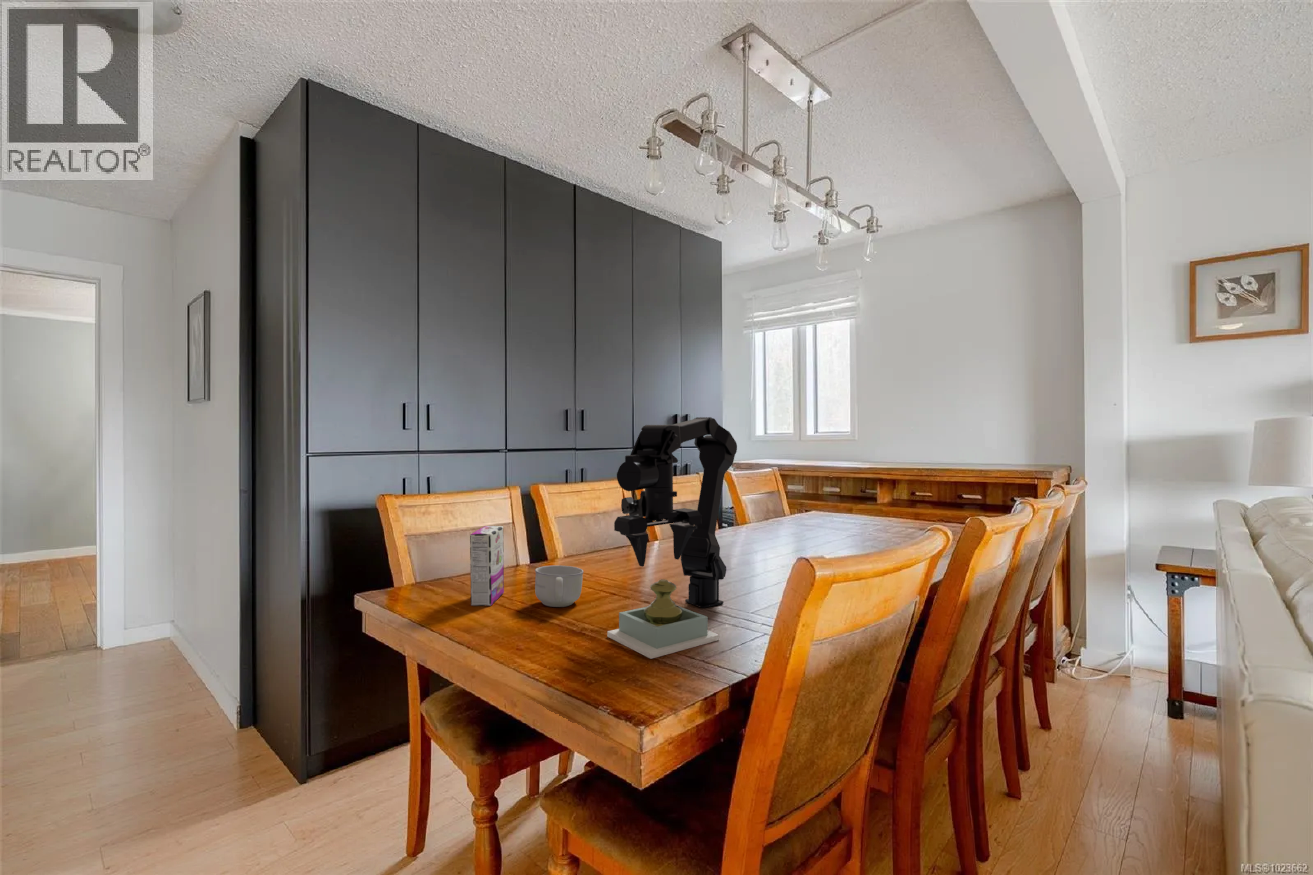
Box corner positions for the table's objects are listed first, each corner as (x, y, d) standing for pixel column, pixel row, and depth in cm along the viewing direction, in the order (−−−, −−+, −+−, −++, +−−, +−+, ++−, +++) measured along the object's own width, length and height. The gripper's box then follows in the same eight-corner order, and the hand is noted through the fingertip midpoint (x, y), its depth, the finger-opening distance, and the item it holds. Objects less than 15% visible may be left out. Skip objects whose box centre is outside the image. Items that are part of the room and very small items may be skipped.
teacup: (540, 597, 142) (541, 563, 142) (586, 597, 142) (586, 563, 142) (526, 614, 128) (526, 577, 128) (576, 615, 128) (576, 578, 128)
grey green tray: (672, 621, 124) (672, 599, 124) (718, 640, 113) (719, 616, 113) (607, 636, 115) (607, 613, 115) (650, 658, 104) (650, 632, 104)
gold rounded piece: (635, 632, 114) (635, 579, 114) (664, 624, 119) (664, 573, 119) (661, 642, 109) (662, 587, 109) (690, 633, 114) (690, 580, 114)
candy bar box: (483, 593, 145) (484, 525, 145) (504, 593, 145) (504, 525, 145) (468, 606, 134) (469, 533, 134) (491, 606, 134) (491, 533, 134)
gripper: (668, 480, 134) (669, 549, 134) (598, 486, 122) (599, 562, 123) (702, 484, 125) (703, 558, 126) (630, 491, 114) (631, 573, 114)
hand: (659, 562), depth 122 cm, fingers open, 9 cm apart
